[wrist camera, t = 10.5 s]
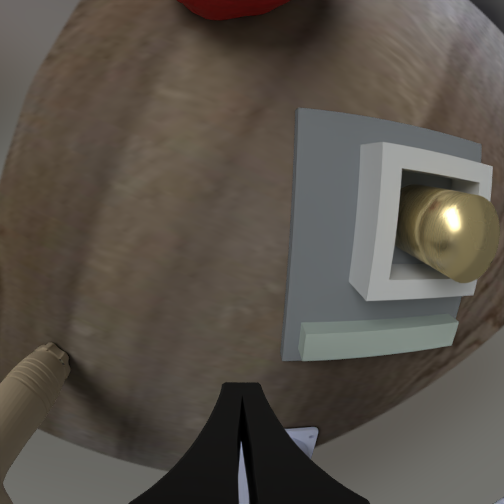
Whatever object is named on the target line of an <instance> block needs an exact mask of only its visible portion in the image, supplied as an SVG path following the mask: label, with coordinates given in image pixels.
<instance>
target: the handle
mask: <svg viewBox="0 0 504 504" xmlns="http://www.w3.org/2000/svg"><path fill="white" fill-rule="evenodd" d="M68 360H69V357H68V355H67V353H66V352H64V351H62V350H61V349H59V348H58V347H57V346H56V345H55V344H54V343H48V344H47V345H41V346H40V347H38V348H37V349H36V350H35V351H34V352H33V353H32V354H30V355H29V356H27V357H26V358H25V359H23V360H22V361H21V362H20V363H19V364H18V365H17V366H16V367H15V368H14V369H13V370H12V371H11V372H10V373H9V374H8V375H7V376H6V377H5V379H4V380H3V381H2V382H1V384H0V504H13V502H12V501H11V499H10V497H9V496H8V494H7V492H6V490H5V488H4V486H3V481H4V478H5V476H6V474H7V472H8V470H9V468H10V467H11V465H12V464H13V462H14V461H15V459H16V458H17V456H18V455H19V453H20V452H21V450H22V449H23V447H24V446H25V444H26V443H27V441H28V440H29V439H30V438H31V436H32V435H33V433H34V432H35V431H36V430H37V428H38V427H39V425H40V424H41V423H42V421H43V420H44V419H45V417H46V416H47V414H48V413H49V411H50V409H51V408H52V406H53V404H54V403H55V400H56V399H57V397H58V395H59V393H60V391H61V388H62V386H63V383H64V380H66V379H67V377H68V375H69V373H70V370H71V369H70V366H69V363H68Z"/></svg>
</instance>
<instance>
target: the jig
mask: <svg viewBox="0 0 504 504" xmlns="http://www.w3.org/2000/svg"><path fill="white" fill-rule="evenodd" d="M492 169H493V167H492V166H489V165H485V164H482V163H481V144H478V143H475V142H472V141H469V140H465V139H462V138H459V137H455V136H452V135H448V134H444V133H441V132H437V131H433V130H429V129H425V128H421V127H417V126H412V125H408V124H403V123H398V122H394V121H389V120H383V119H378V118H373V117H367V116H361V115H355V114H348V113H341V112H334V111H326V110H317V109H308V108H298V109H297V110H295V138H294V164H293V185H292V205H291V222H290V239H289V254H288V268H287V282H286V295H285V307H284V319H283V330H282V341H281V352H280V354H281V358H282V361H299V360H302V361H317V360H334V359H348V358H359V357H370V356H380V355H389V354H397V353H405V352H412V351H419V350H426V349H432V348H439V347H445V346H450V345H452V342H453V339H454V336H455V333H456V330H457V327H458V323H459V322H458V321H457V320H456V315H457V312H458V308H459V304H460V301H461V297H462V296H467V295H474V291H475V287H476V283H477V279H476V280H474V281H472V282H469V283H459V282H456V281H454V280H452V279H451V278H449V277H447V276H446V275H444V274H443V273H441V272H439V271H437V270H436V269H434V268H432V267H431V266H429V265H427V264H426V263H424V262H422V261H420V260H419V259H417V258H415V257H413V256H412V255H410V254H408V253H406V252H405V251H403V250H401V249H399V248H398V247H396V246H395V237H396V229H397V221H398V211H399V201H400V189H401V188H403V187H405V186H407V185H412V184H417V185H424V186H430V187H436V188H442V189H448V190H453V191H459V192H464V193H469V194H475V195H479V196H482V197H484V198H486V199H487V200H489V201H490V198H491V186H492Z"/></svg>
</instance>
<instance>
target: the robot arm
mask: <svg viewBox="0 0 504 504" xmlns="http://www.w3.org/2000/svg"><path fill="white" fill-rule="evenodd" d="M317 436H318V429H317V428H316V427H306V428H293V429H284V428H283V426H282V425H281V423H280V422H279V420H278V419H277V417H276V415H275V414H274V412H273V410H272V409H271V407H270V405H269V403H268V401H267V399H266V397H265V395H264V393H263V390H262V388H261V385H260V384H259V383H234V382H225V383H224V384H222V388H221V392H220V395H219V398H218V400H217V403H216V405H215V407H214V409H213V411H212V413H211V415H210V417H209V419H208V421H207V423H206V424H205V426H204V428H203V429H202V431H201V433H200V434H199V436H198V437H197V439H196V440H195V442H194V443H193V444H192V446H191V447H190V448H189V450H188V451H187V452H186V453H185V455H184V456H183V457H182V458H181V459H180V460H179V461H178V463H177V464H176V465H175V466H174V467H173V468H172V469H171V470H170V471H169V472H168V473H167V474H166V475H165V476H163V478H161V479H160V480H159V481H158V482H157V483H156V484H154V485H153V486H152V487H151V488H150V489H148V490H147V491H145V492H144V493H143V494H141V495H140V496H138V497H137V498H136V499H134V500H133V501H131V502H130V503H129V504H370V503H369V501H368V500H367V499H365V498H363V497H362V496H360V495H358V494H356V493H354V492H353V491H351V490H350V489H348V488H346V487H345V486H343V485H342V484H340V483H339V482H337V481H336V480H335V479H333V478H332V477H331V476H329V475H328V474H327V473H326V472H325V471H323V470H322V469H321V468H320V467H318V466H317V465H316V464H315V463H314V462H313V461H312V460H311V457H312V454H313V450H314V447H315V443H316V439H317ZM493 504H504V497H503V498H501V499H500V500H498V501H496V502H495V503H493Z"/></svg>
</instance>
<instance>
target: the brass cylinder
mask: <svg viewBox="0 0 504 504" xmlns="http://www.w3.org/2000/svg"><path fill="white" fill-rule="evenodd" d="M499 237H500V226H499V220H498V216H497V213H496V210H495V208H494V207H493V205H492V204H491V203H490V201H489V200H487V199H486V198H484V197H482V196H479V195H475V194H469V193H464V192H459V191H453V190H448V189H442V188H436V187H430V186H424V185H417V184H412V185H407V186H405V187H403V188H401V189H400V201H399V211H398V221H397V229H396V237H395V246H396V247H398V248H399V249H401V250H403V251H405V252H406V253H408V254H410V255H412V256H413V257H415V258H417V259H419V260H420V261H422V262H424V263H426V264H427V265H429V266H431V267H432V268H434V269H436V270H437V271H439V272H441V273H443V274H444V275H446V276H447V277H449V278H451V279H452V280H454V281H456V282H459V283H469V282H472V281H474V280H476V279H478V278H479V277H480V276H481V275H483V274H484V272H485V271H486V270H487V269H488V268H489V266H490V264H491V263H492V261H493V259H494V257H495V254H496V251H497V248H498V244H499Z"/></svg>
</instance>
